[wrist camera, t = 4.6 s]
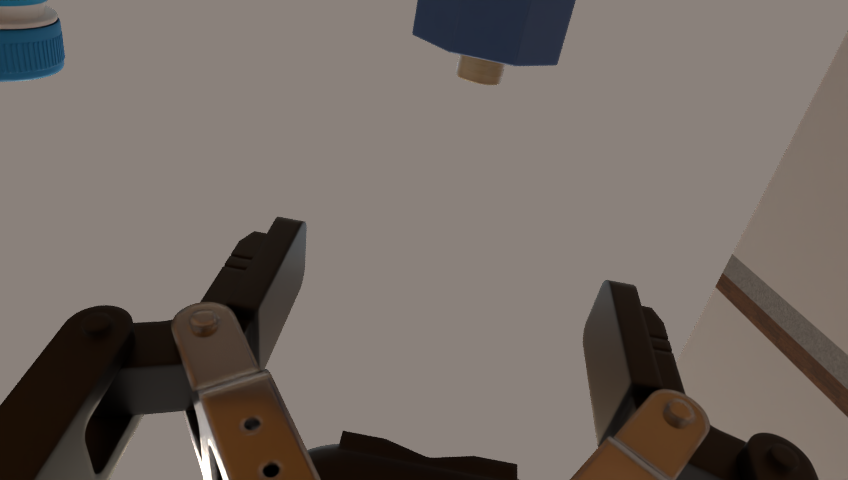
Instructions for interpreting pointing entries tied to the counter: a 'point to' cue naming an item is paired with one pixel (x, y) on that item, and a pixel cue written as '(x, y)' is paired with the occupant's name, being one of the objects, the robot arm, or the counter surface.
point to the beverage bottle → (29, 40)
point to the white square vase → (786, 300)
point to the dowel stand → (479, 70)
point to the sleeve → (496, 28)
